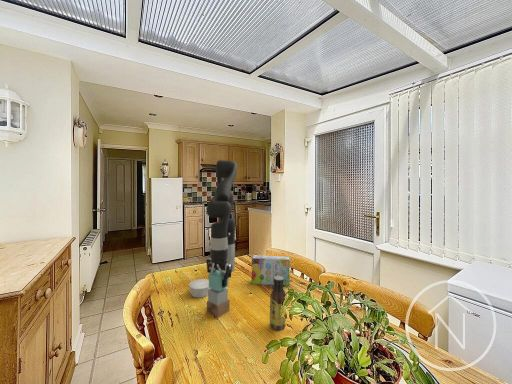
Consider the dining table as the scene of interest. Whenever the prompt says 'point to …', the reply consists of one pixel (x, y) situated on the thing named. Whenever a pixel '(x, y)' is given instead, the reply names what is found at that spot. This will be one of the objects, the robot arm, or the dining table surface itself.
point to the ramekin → (199, 288)
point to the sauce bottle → (277, 304)
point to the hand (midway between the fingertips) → (218, 284)
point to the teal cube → (216, 281)
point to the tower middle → (217, 296)
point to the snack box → (270, 269)
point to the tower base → (218, 308)
